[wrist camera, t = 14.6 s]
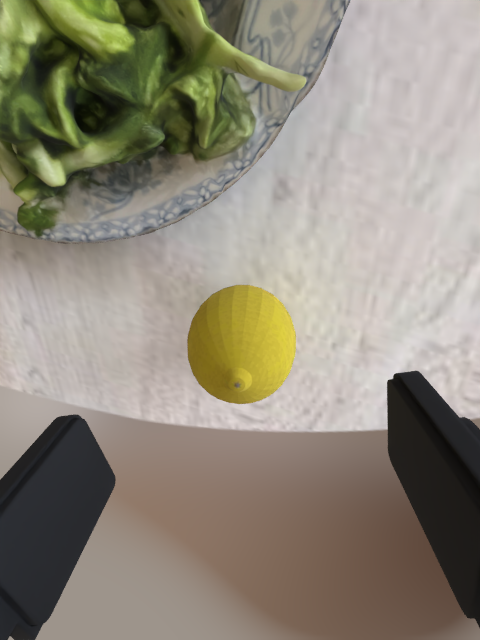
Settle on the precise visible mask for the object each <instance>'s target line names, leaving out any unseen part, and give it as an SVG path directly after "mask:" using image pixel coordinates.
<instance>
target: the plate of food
mask: <svg viewBox="0 0 480 640" xmlns="http://www.w3.org/2000/svg"><path fill="white" fill-rule="evenodd" d="M349 3H350V0H0V230H2V231H5V232H8V233H12V234H16V235H22V236H27V237H30V238H34V239H43V240H48V241H53V242H58V243H101V242H107V241H113V240H118V239H126V238H131V237H135V236H139V235H144V234H148V233H151V232H154V231H156V230H158V229H160V228H163V227H166V226H168V225H171V224H173V223H176V222H178V221H180V220H182V219H183V218H185V217H186V216H188V215H190V214H192V213H193V212H195V211H197V210H198V209H200V208H202V207H204V206H205V205H207V204H209V203H210V202H212V201H213V200H214V199H216V198H217V197H218V196H219V195H221V194H222V193H223V192H224V191H226V190H227V189H228V188H229V187H231V186H232V185H233V184H234V183H235V182H236V181H238V180H239V179H240V178H241V177H242V176H243V175H244V174H245V173H246V172H247V171H248V170H249V169H250V168H251V167H252V166H253V165H254V164H255V163H256V162H257V161H258V160H259V159H260V158H261V157H262V156H263V154H264V153H265V152H266V151H267V150H268V148H269V147H270V146H271V144H272V143H273V141H274V140H275V138H276V137H277V135H278V134H279V132H280V130H281V128H282V127H283V125H284V123H285V121H286V119H287V118H288V116H289V114H290V112H291V111H292V110H293V109H294V108H295V107H296V106H297V105H298V104H299V103H300V102H301V101H302V100H303V99H304V97H305V96H306V95H307V94H308V93H309V91H310V90H311V89H312V87H313V86H314V84H315V83H316V81H317V79H318V77H319V75H320V73H321V71H322V69H323V67H324V64H325V62H326V59H327V57H328V54H329V52H330V49H331V46H332V44H333V42H334V39H335V37H336V34H337V32H338V29H339V27H340V24H341V21H342V19H343V16H344V14H345V11H346V9H347V7H348V5H349Z"/></svg>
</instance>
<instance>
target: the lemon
mask: <svg viewBox="0 0 480 640" xmlns="http://www.w3.org/2000/svg"><path fill="white" fill-rule="evenodd" d="M295 352H296V334H295V330H294V326H293V323H292V319H291V317H290V315H289V313H288V312H287V310H286V309H285V307H284V305H283V304H282V303H281V302H280V301H279V300H278V299H277V298H276V297H275V296H274V295H272V294H271V293H269V292H267V291H265V290H263V289H261V288H258V287H254V286H250V285H236V286H231V287H227V288H224V289H222V290H220V291H218V292H216V293H214V294H213V295H211V296H210V297H209V298H208V299H207V300H206V301H205V302H204V303H203V304H202V305H201V306H200V308H199V310H198V311H197V313H196V315H195V316H194V318H193V320H192V323H191V326H190V330H189V334H188V360H189V363H190V366H191V369H192V372H193V375H194V376H195V378H196V379H197V381H198V383H199V384H200V385H201V386H202V387H203V388H204V389H205V390H206V391H207V392H208V393H209V394H211V395H213V396H214V397H216V398H218V399H220V400H223V401H226V402H229V403H236V404H246V403H253V402H256V401H260V400H262V399H264V398H266V397H268V396H270V395H271V394H273V393H274V392H275V391H276V390H277V389H278V388H279V387H280V386H281V385H282V384H283V382H284V381H285V379H286V377H287V376H288V374H289V373H290V370H291V367H292V364H293V360H294V357H295Z"/></svg>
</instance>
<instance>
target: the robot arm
mask: <svg viewBox="0 0 480 640" xmlns="http://www.w3.org/2000/svg"><path fill="white" fill-rule="evenodd" d="M387 405H388V453H389V457H390V460H391V463H392V465H393V467H394V470H395V471H396V474H397V476H398V478H399V480H400V482H401V484H402V486H403V488H404V490H405V493H406V494H407V497H408V499H409V501H410V503H411V505H412V507H413V509H414V511H415V513H416V515H417V518H418V520H419V522H420V524H421V526H422V528H423V530H424V532H425V534H426V536H427V539H428V540H429V543H430V545H431V547H432V549H433V551H434V553H435V555H436V557H437V559H438V562H439V563H440V566H441V568H442V570H443V572H444V574H445V576H446V578H447V580H448V582H449V585H450V587H451V589H452V591H453V593H454V595H455V597H456V599H457V601H458V603H459V605H460V607H461V609H462V610H463V612H464V614H465V615H466V616H467V618H475V619H476V621H477V623H478V625H479V627H480V429H479V428H478V427H477V426H476V425H475V424H474V423H473V422H472V421H471V420H470V419H467V418H465V417H462V418H459V417H458V415H457V414H456V413H455V412H454V411H453V410H452V409H451V407H450V406H449V405H448V404H447V403H446V402H445V401H444V399H443V398H442V397H441V396H440V395H439V394H438V393H437V391H436V390H435V389H434V388H433V387H432V386H431V385H430V383H429V382H428V381H427V380H426V379H425V378H424V377H423V375H422V374H421V373H420V372H419V371H411V372H403V373H396V374H394V377H393V379H391V380H388V382H387ZM114 486H115V475H114V473H113V471H112V469H111V467H110V466H109V464H108V462H107V460H106V458H105V456H104V454H103V452H102V451H101V449H100V447H99V445H98V443H97V442H96V439H95V437H94V435H93V434H92V432H91V430H90V428H89V426H88V424H87V422H86V421H85V420H84V419H82V418H81V417H80V416H79V415H68V416H61V417H57V418H56V419H55V420H54V421H53V422H52V423H51V424H50V425H49V426H48V427H47V429H46V430H45V431H44V432H43V433H42V434H41V435H40V436H39V438H38V439H37V440H36V441H35V442H34V443H33V444H32V445H31V446H30V448H29V449H28V450H27V451H26V452H25V453H24V454H23V455H22V456H21V458H20V459H19V460H18V461H17V462H16V463H15V464H14V465H13V466H12V468H11V469H10V470H9V471H8V472H7V473H6V474H5V475H4V476H3V478H2V479H1V480H0V640H8V638H9V636H11V637H12V638H13V639H14V640H35V639H36V637H37V635H38V633H39V631H40V629H41V627H42V625H43V623H45V622H46V621H47V620H48V619H49V617H50V616H51V614H52V612H53V610H54V608H55V606H56V604H57V602H58V600H59V598H60V596H61V594H62V592H63V590H64V588H65V586H66V583H67V582H68V580H69V578H70V576H71V574H72V571H73V570H74V568H75V565H76V564H77V561H78V559H79V557H80V555H81V553H82V551H83V549H84V547H85V545H86V543H87V541H88V539H89V537H90V535H91V533H92V531H93V529H94V527H95V525H96V523H97V521H98V519H99V517H100V515H101V513H102V510H103V509H104V507H105V505H106V503H107V501H108V499H109V497H110V495H111V493H112V490H113V488H114Z"/></svg>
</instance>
